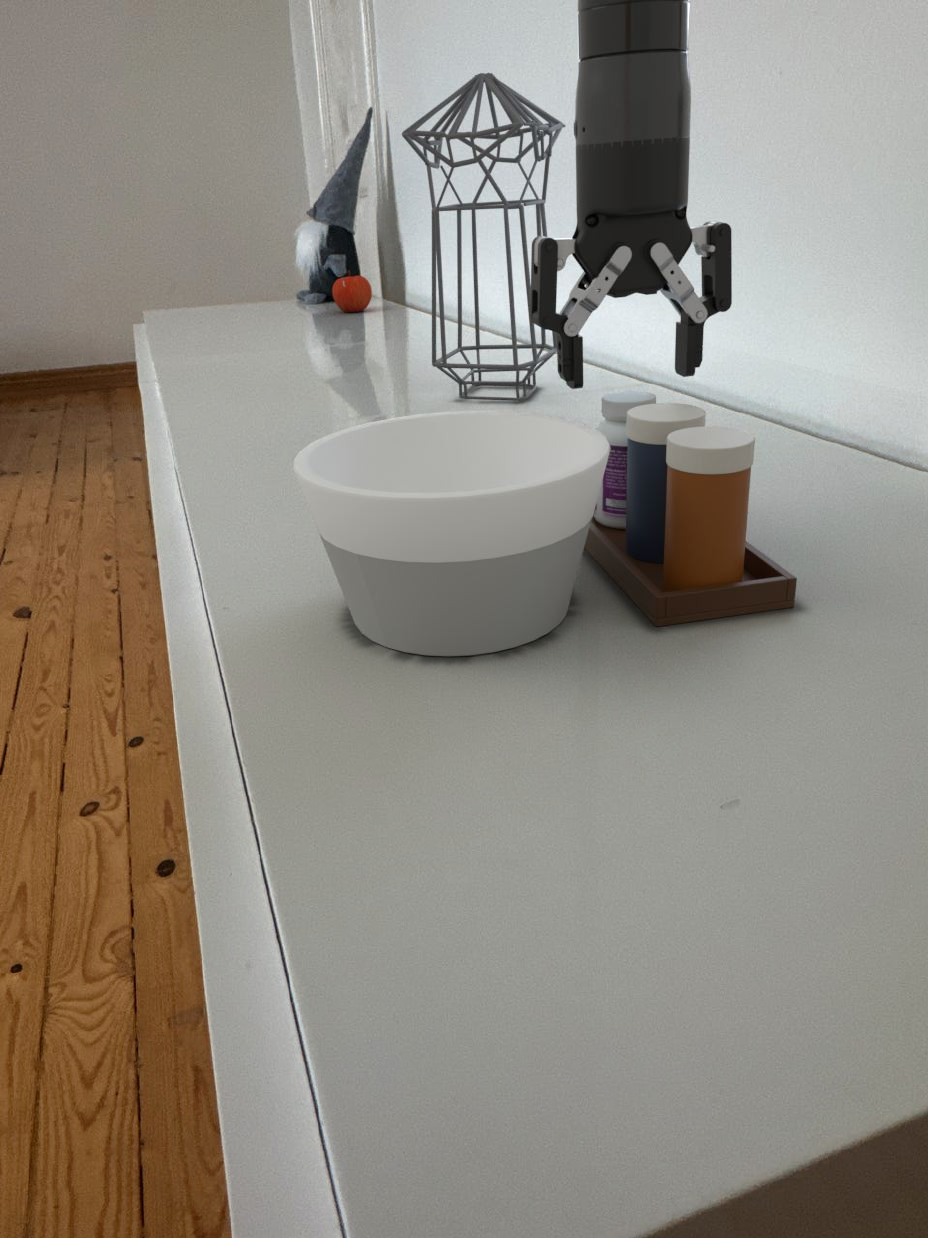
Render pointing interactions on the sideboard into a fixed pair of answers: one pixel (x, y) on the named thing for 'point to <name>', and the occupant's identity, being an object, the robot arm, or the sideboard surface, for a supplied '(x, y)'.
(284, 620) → the sideboard surface
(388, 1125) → the sideboard surface
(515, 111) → the geometric lantern
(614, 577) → the tray
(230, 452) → the sideboard surface
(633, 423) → the slate bottle
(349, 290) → the apple
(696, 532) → the amber bottle
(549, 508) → the bowl
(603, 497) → the pill bottle
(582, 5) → the robot arm
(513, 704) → the sideboard surface
